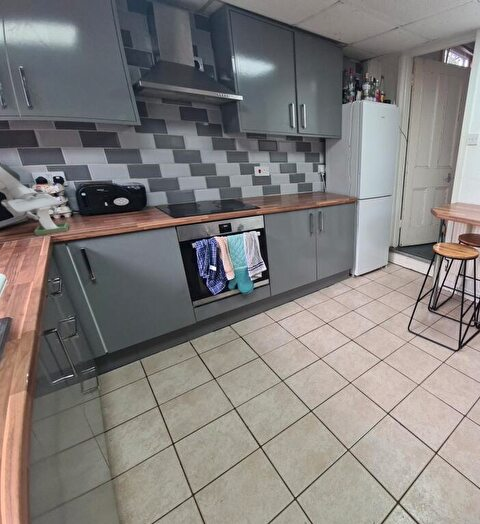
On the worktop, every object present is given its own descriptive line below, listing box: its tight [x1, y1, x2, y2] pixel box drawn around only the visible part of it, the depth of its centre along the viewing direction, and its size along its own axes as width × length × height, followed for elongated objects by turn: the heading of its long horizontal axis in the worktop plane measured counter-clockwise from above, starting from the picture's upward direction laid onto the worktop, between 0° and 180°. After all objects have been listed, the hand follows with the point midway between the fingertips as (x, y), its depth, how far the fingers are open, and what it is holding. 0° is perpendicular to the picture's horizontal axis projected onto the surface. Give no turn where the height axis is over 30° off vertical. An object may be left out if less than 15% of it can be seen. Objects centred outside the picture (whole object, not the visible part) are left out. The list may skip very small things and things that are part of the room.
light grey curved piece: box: [35, 206, 59, 230], centre depth 149 cm, size 5×6×12 cm
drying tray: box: [33, 221, 70, 236], centre depth 152 cm, size 12×12×2 cm
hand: (48, 216), depth 149 cm, fingers open, 8 cm apart
